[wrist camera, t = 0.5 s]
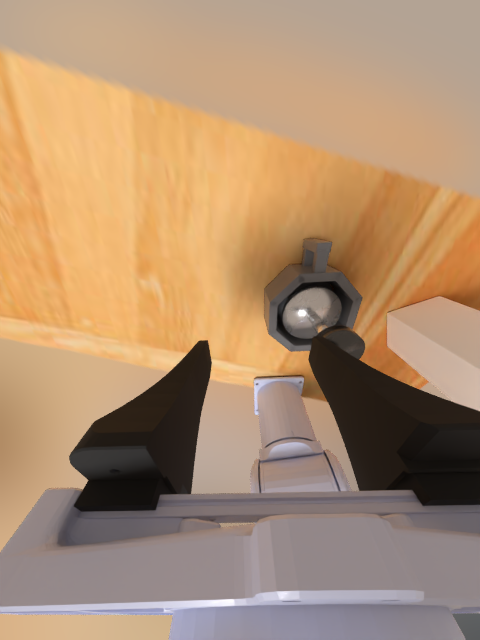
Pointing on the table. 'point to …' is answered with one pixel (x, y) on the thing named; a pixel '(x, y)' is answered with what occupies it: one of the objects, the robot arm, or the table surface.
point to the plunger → (320, 319)
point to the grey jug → (301, 277)
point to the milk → (440, 346)
